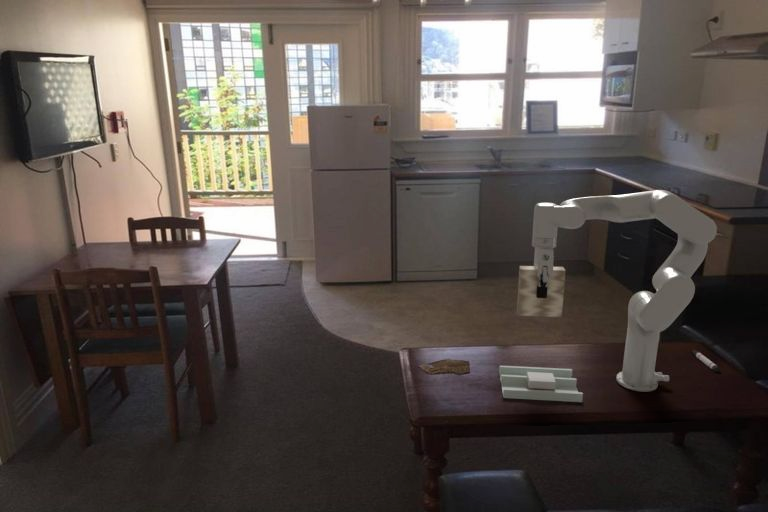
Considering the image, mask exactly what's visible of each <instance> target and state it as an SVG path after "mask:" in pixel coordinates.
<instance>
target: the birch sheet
mask: <svg viewBox="0 0 768 512" xmlns="http://www.w3.org/2000/svg"><path fill="white" fill-rule="evenodd" d="M518 269H519V270H518V283H517V284H518V286H517V300H516V301H517V302H516V313H517V316H519V317H520V316H521V317H522V316H523V317H524V316H525V317H548V318H549V317H550V318H562V316H563V308H564V307H563V305H564V295H565V294H564V293H565V283H566V273H567V272H566V269H565V268H564V266H553V278H549V276H548V283H547V298H537V297H536V295H537V286H538V277H537V276H536V269H535V267H534V265H519V268H518ZM540 276H541V277H543V275H541V274H540ZM541 280H542V279H541ZM540 282H541V281H540Z"/></svg>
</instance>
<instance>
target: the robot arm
mask: <svg viewBox="0 0 768 512" xmlns="http://www.w3.org/2000/svg"><path fill="white" fill-rule="evenodd" d="M533 208H534V209H533V221H532V222H533V223H532V236H531V238H532V239H531V246H532V247H533V248H534V256H533V258H534V259H533V266H534V267H535V269H536V276H537V277H538V286H537V295H536V297H537V298H547V283H548V276H549V278H553V267H554V261H555V259H554V258H555V257H554V254H555V253H554V249H555V248H557V239H558V230H559V229H558V228H563V229H570V230H574V229H575V230H576V229H578V228H582V226H583V225H584V224H585V222H586V221H587V220H605V221H609V222H612V223H628V222H636V221H643V220H654V219H656V220H657V221H659V222H661V223H662V224H663V225H664V226H666V227H667V228H669V229H670V230H671V231H673V232H674V233H676V234H677V243H676V245H675V247H674V249H673V250H672V252H671V253H670V254H669V255H668V257H667V258H666V260H664V262H663V263H662V264H661V265H660V266H659V268H658V269H657V271H656V272H655V273H654V275H652V278H651V279H652V280H651V281H652V282H651V283H652V286H653V288H654V289H655V290H656V292H655V293H653V292H651V291H648V290H642V291H638V292H635V294H633V295H632V296H631V298H630V299H629V302H628V307H627V329H626V338H625V346H624V354H623V362H622V371H619V372H618V373H617V374H616V378H615V379H616V382H617V383H618V384H619V385H620V386H622V387H624V388H625V389H628V390H631V391H636V392H641V393H642V392H646V393H647V392H648V393H649V392H653V391H655V390H656V389H658V385H659V383H658V382H660V381H661V382H662V381H663V382H669V381H670V375H667V374H663V372H661V371H658V372H656V371H655V370H656V369H655V368H656V361H657V354H658V347H659V342H660V341H659V340H660V333H661V332H664V331H666V329H668V328H669V327H670V326H671V325H672V324H673V323H674V321H676V319H677V318H678V317H679V316H680V314H681V313H682V312H683V311H684V310H685V309H686V307H687V306H688V305H689V304H690V303H691V301H692V299H693V298H694V295H695V293H696V292H695V291H696V285H695V283H694V281H693V280H692V276H693V275H694V273H695V272H696V271H697V270H698V268H699V267H700V265H701V264H702V263H703V262H704V260H705V257H706V255H707V254H708V248H709V243H710V242H712V241H713V240H714V239H715V238H716V235H717V232H718V227H717V224H716V222H715V221H714V220H713V219H712V218H711V217H709V216H708V215H706V214H705V213H703V212H701V211H700V210H698V209H697V208H696V207H694V206H692V205H691V204H689V203H688V202H687V201H685V200H684V199H682V198H681V197H680V196H678V195H677V194H675V193H673V192H671V191H669V190H665V189H654V190H647V191H646V190H645V191H641V192H633V193H626V194H625V193H624V194H616V195H613V194H612V195H598V196H596V195H595V196H585V197H577V198H571V199H567V200H564V201H561V203H560V204H559V205H558V204H556V203H553V202H547V201H546V202H537V203H536V204H535V205H534V207H533ZM540 274H541V275H543V277H541V276H540ZM541 279H542V280H541ZM540 281H541V282H540Z"/></svg>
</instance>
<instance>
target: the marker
mask: <svg viewBox="0 0 768 512" xmlns="http://www.w3.org/2000/svg"><path fill="white" fill-rule="evenodd" d="M692 353H693V356H694V357H696V358H697V359H698V360H699V361H701V362H702V363H703V364H704V365H706V366H707V367H708V368H710V370H712V371H714V372H716V373H717V372H720V371H721V368H720V367H719V366H718V365H717V364H715V363H714V362H713V361H711V360H710V359H709V358H707V357H706V356H705V355H703V354H702V353H701V352H699V351H698V350H695V349H692Z"/></svg>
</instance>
